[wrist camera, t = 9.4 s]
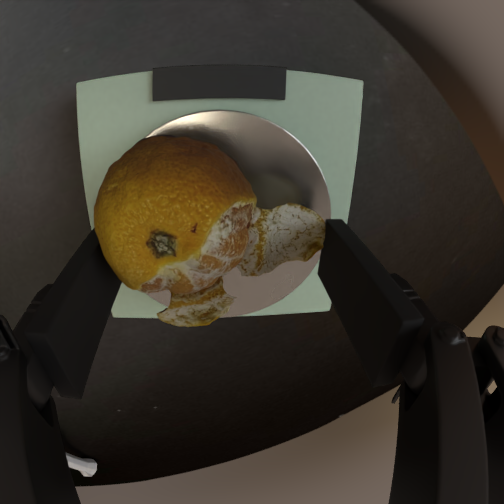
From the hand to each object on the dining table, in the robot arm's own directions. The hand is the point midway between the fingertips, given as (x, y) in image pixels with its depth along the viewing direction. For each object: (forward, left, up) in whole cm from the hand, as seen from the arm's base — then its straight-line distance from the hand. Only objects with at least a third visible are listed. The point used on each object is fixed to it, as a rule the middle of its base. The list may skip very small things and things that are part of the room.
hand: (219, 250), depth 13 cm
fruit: (0, -1, -1) cm, 1 cm away
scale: (-1, 0, -6) cm, 6 cm away
